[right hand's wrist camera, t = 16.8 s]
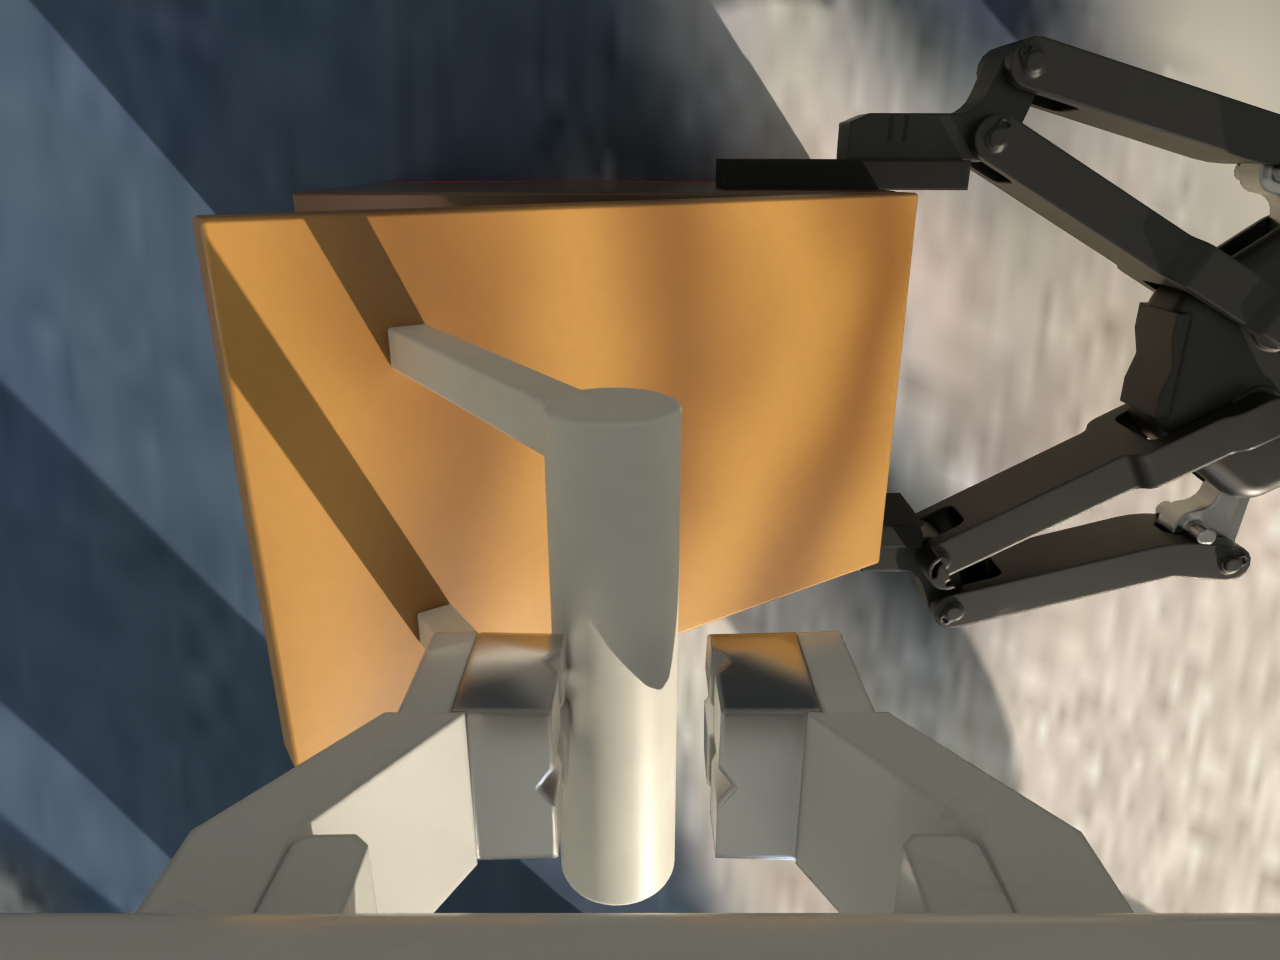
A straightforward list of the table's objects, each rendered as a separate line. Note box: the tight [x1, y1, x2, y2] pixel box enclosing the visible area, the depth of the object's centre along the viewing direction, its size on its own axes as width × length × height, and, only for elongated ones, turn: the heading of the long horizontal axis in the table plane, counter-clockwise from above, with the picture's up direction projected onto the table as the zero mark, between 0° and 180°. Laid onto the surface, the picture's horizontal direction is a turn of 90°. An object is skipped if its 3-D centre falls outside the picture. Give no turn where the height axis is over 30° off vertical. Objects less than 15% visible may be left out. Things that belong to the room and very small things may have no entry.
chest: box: [292, 181, 895, 212], centre depth 27 cm, size 15×10×9 cm, turn 90°
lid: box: [192, 192, 918, 905], centre depth 16 cm, size 16×10×8 cm
